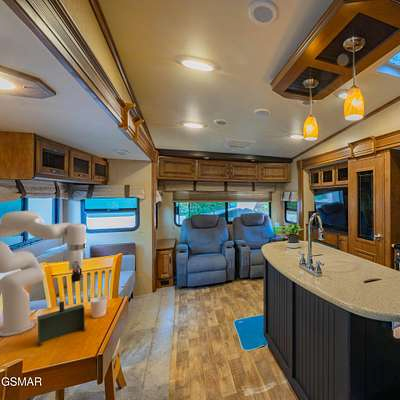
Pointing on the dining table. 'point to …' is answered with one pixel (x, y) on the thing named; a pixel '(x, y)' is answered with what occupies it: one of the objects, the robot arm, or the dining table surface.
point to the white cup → (98, 306)
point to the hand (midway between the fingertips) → (76, 278)
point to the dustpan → (60, 322)
